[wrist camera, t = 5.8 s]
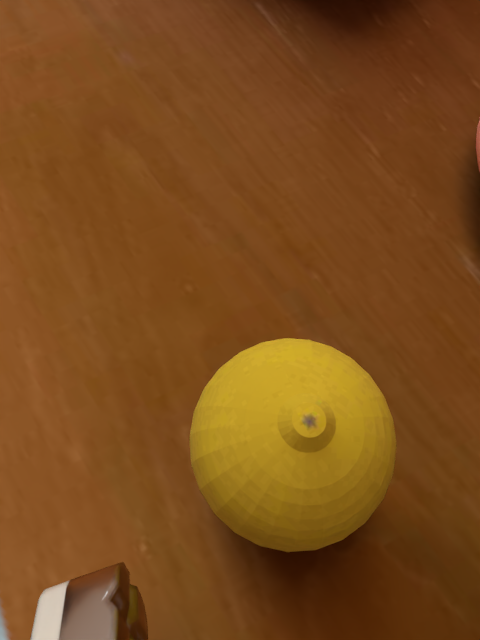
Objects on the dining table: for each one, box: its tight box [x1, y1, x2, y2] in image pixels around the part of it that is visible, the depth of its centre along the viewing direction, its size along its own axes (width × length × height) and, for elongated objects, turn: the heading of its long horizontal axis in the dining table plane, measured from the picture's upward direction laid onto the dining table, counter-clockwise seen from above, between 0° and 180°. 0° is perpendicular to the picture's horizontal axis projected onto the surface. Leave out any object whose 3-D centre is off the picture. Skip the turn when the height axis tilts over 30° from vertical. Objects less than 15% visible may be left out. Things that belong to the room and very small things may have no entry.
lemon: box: [189, 338, 397, 552], centre depth 12 cm, size 6×6×8 cm
